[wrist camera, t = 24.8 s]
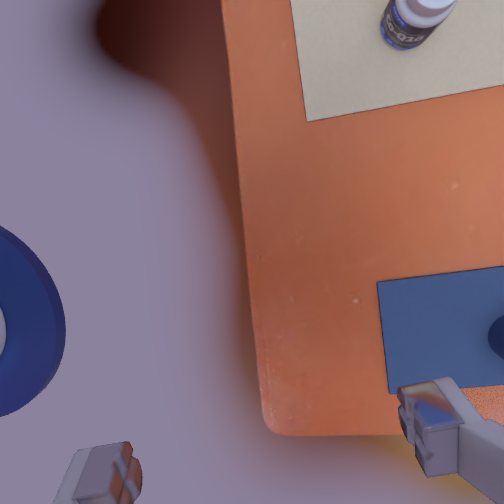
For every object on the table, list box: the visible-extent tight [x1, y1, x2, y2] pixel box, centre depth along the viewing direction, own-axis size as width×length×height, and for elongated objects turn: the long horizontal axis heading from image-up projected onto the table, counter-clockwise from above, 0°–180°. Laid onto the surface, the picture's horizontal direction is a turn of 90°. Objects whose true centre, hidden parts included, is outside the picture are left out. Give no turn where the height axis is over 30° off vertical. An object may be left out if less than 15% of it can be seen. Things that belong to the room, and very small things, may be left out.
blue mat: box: [377, 266, 504, 394], centre depth 40 cm, size 16×13×1 cm
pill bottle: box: [380, 0, 457, 51], centre depth 31 cm, size 5×5×8 cm
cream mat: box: [290, 0, 504, 122], centre depth 35 cm, size 20×14×1 cm
